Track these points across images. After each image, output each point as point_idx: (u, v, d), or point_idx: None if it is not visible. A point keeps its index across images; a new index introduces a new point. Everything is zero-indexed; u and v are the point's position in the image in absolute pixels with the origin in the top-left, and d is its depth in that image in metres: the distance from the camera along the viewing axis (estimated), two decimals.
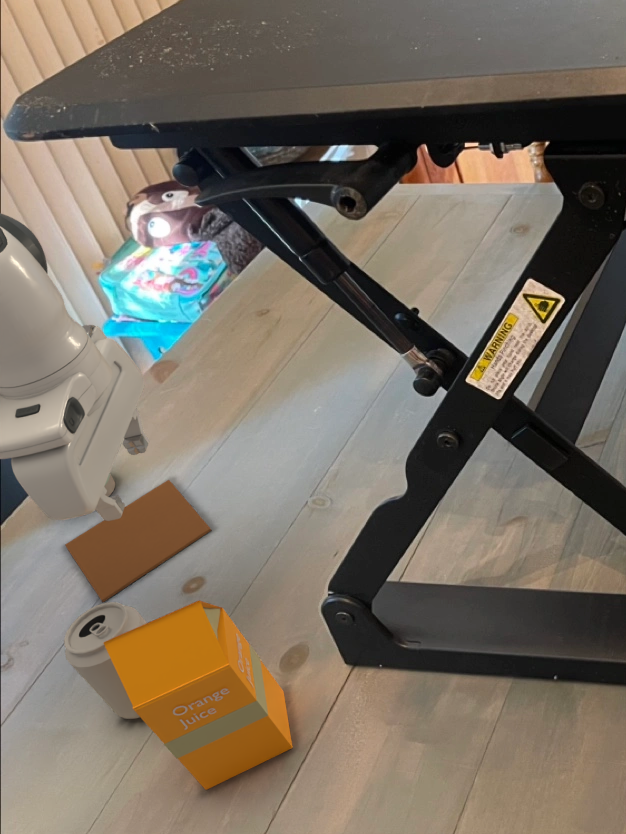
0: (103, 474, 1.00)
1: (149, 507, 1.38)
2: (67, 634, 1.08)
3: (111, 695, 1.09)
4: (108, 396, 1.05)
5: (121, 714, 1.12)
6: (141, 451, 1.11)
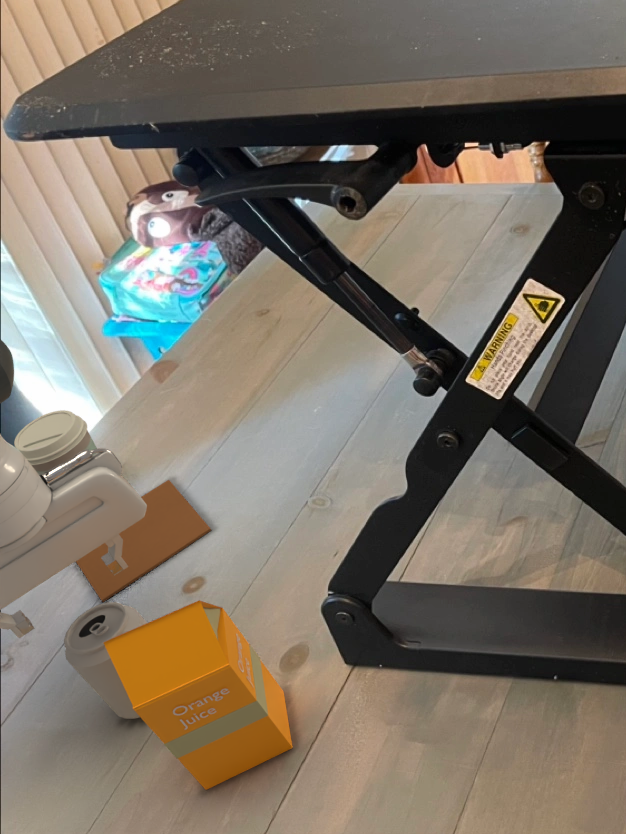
0: None
1: (149, 507, 1.38)
2: (67, 634, 1.08)
3: (111, 696, 1.09)
4: (59, 530, 1.00)
5: (121, 714, 1.12)
6: None
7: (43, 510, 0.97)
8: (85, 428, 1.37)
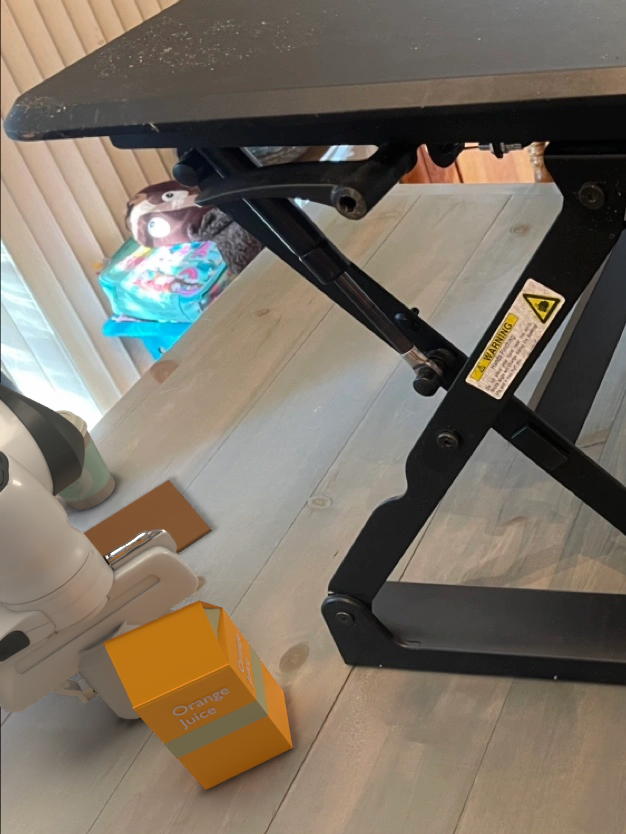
0: (56, 680, 1.05)
1: (149, 507, 1.38)
2: None
3: (111, 696, 1.09)
4: (119, 606, 1.07)
5: (121, 714, 1.12)
6: None
7: (107, 590, 1.04)
8: (85, 428, 1.37)
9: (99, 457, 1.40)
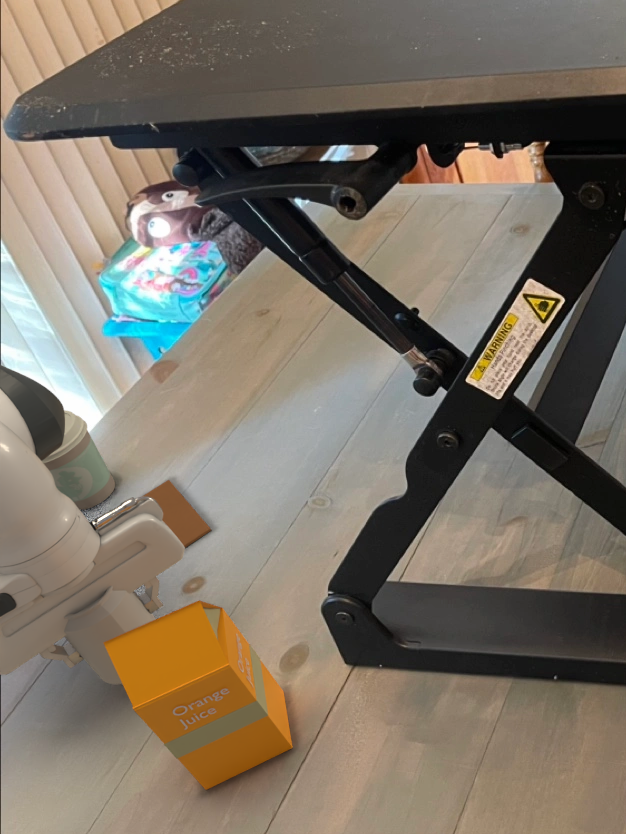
0: (42, 644, 1.06)
1: None
2: None
3: (97, 661, 1.11)
4: (105, 572, 1.09)
5: (107, 680, 1.13)
6: (149, 611, 1.15)
7: (93, 555, 1.05)
8: (85, 428, 1.37)
9: (99, 457, 1.40)
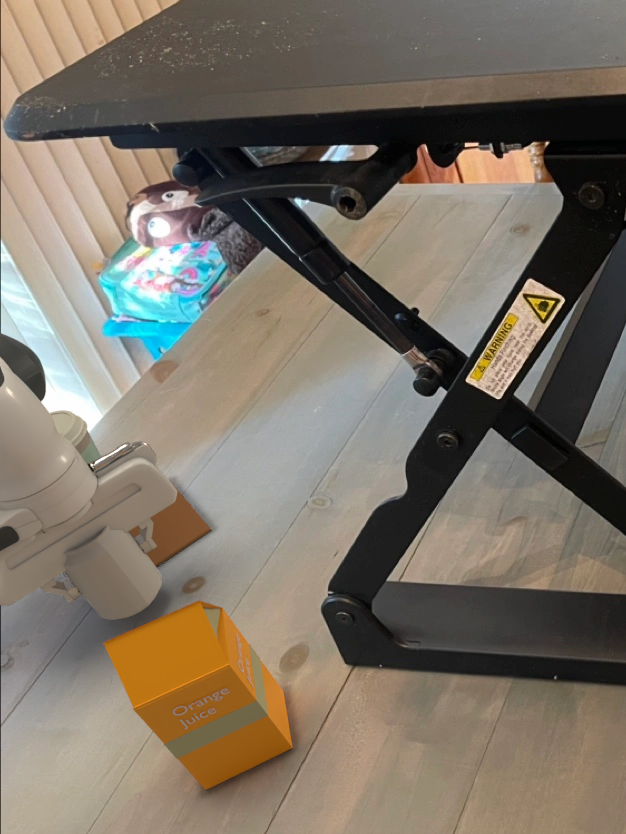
0: (43, 578, 1.14)
1: None
2: None
3: (95, 596, 1.18)
4: (102, 512, 1.16)
5: (104, 615, 1.20)
6: (143, 551, 1.22)
7: (91, 494, 1.13)
8: (85, 428, 1.37)
9: None
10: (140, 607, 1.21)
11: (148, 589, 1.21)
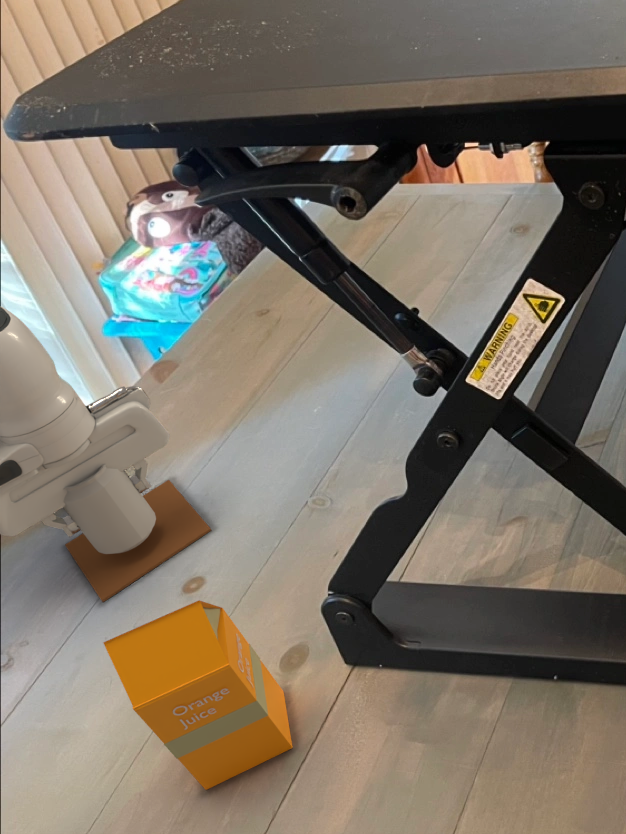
0: (44, 511, 1.22)
1: None
2: None
3: (92, 530, 1.26)
4: (100, 451, 1.24)
5: (101, 549, 1.29)
6: (138, 491, 1.31)
7: (89, 433, 1.21)
8: None
9: None
10: (135, 542, 1.29)
11: (142, 526, 1.30)
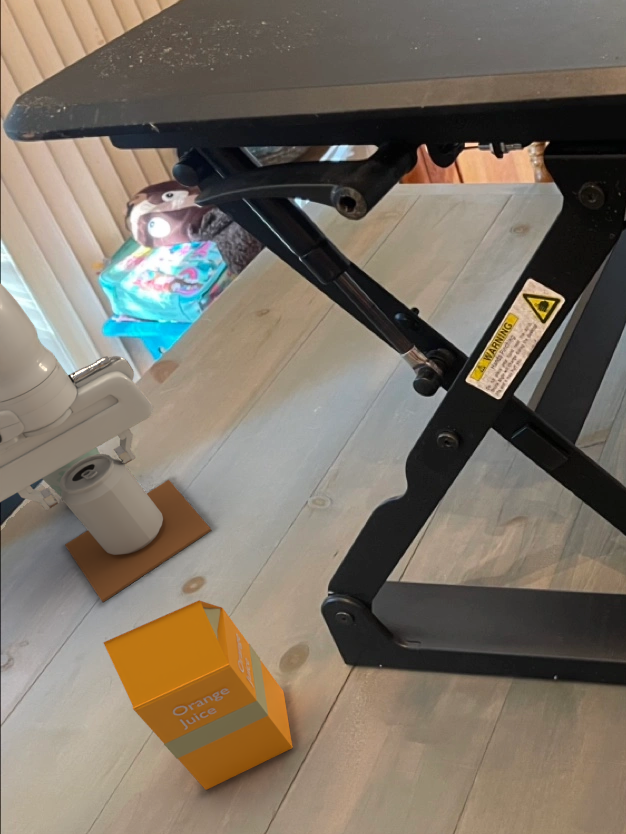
0: (24, 481, 1.21)
1: None
2: (62, 478, 1.27)
3: (101, 532, 1.28)
4: (81, 421, 1.23)
5: (110, 550, 1.31)
6: (123, 462, 1.30)
7: (70, 401, 1.20)
8: None
9: None
10: (143, 543, 1.32)
11: (150, 526, 1.32)
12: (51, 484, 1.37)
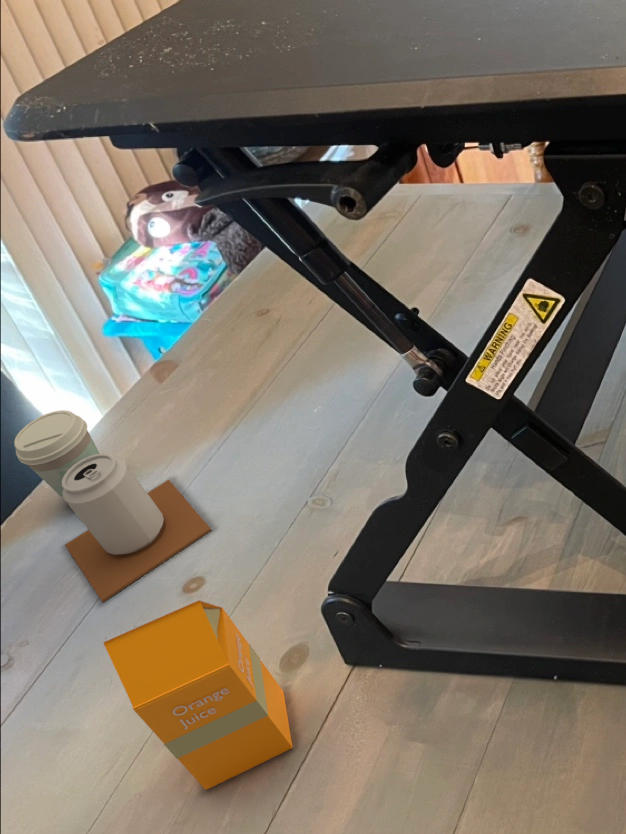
0: None
1: None
2: (64, 477, 1.27)
3: (102, 531, 1.29)
4: None
5: (110, 550, 1.31)
6: None
7: None
8: (85, 428, 1.37)
9: None
10: (143, 543, 1.32)
11: (150, 526, 1.32)
12: (51, 484, 1.37)
